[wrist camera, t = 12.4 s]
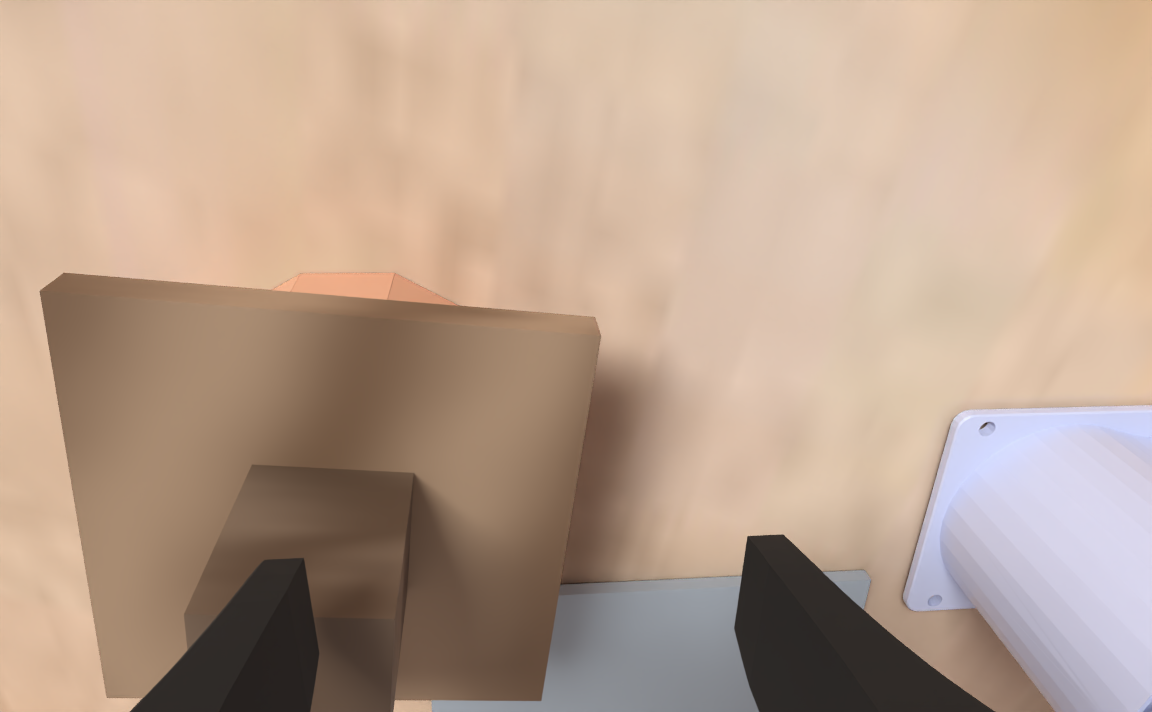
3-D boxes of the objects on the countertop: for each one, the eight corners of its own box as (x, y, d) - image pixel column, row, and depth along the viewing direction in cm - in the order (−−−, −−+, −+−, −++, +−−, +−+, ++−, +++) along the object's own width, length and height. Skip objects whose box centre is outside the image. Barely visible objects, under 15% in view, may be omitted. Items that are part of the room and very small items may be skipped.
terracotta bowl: (519, 272, 21) (526, 334, 18) (518, 538, 25) (524, 632, 22) (168, 273, 20) (102, 340, 17) (224, 550, 24) (180, 651, 21)
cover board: (594, 317, 18) (637, 451, 13) (538, 671, 23) (555, 868, 18) (63, 272, 16) (-118, 407, 11) (122, 666, 21) (13, 882, 16)
